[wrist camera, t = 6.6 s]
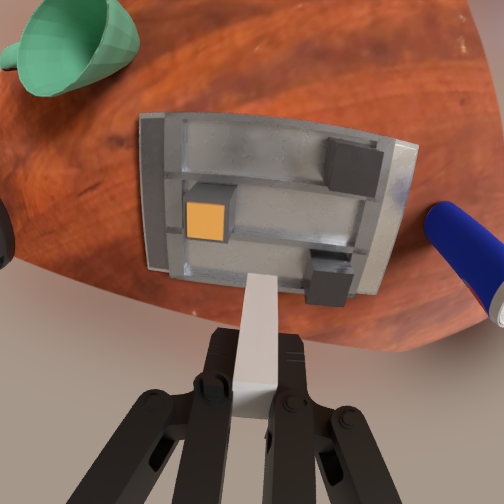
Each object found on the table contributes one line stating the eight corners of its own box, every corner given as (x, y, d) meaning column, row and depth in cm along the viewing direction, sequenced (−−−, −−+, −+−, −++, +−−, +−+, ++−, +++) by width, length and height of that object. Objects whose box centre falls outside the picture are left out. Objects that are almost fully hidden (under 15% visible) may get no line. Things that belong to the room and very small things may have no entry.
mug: (170, 1, 18) (122, -34, 9) (156, 90, 23) (98, 90, 14) (58, 24, 18) (-2, 18, 9) (49, 100, 23) (-15, 112, 14)
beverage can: (415, 237, 28) (483, 330, 15) (429, 194, 25) (517, 271, 12) (448, 244, 28) (517, 329, 15) (463, 204, 25) (546, 277, 12)
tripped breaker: (195, 220, 27) (182, 240, 24) (196, 182, 26) (181, 197, 22) (234, 224, 27) (227, 245, 24) (236, 186, 25) (229, 201, 22)
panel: (152, 262, 32) (134, 290, 27) (146, 112, 24) (118, 116, 19) (373, 287, 31) (385, 318, 27) (412, 142, 23) (439, 153, 18)
